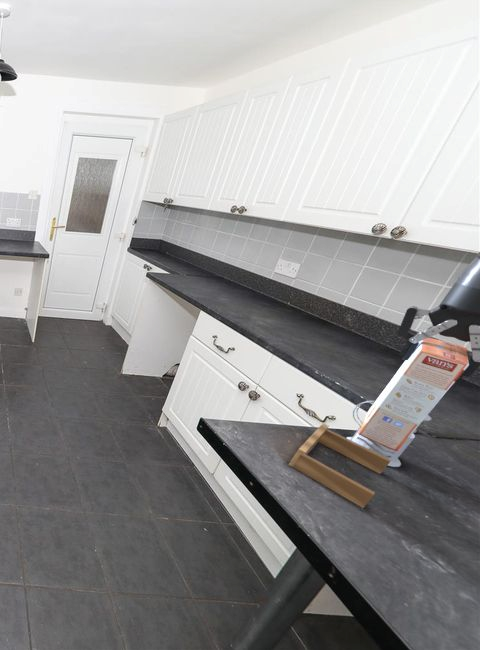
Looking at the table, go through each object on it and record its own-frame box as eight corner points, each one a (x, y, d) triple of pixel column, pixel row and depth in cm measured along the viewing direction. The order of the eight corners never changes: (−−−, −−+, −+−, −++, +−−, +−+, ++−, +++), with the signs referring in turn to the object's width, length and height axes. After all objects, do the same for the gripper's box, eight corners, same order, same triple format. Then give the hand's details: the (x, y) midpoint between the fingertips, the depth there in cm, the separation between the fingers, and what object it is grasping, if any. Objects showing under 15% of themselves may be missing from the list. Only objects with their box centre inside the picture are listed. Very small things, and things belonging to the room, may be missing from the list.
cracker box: (399, 454, 65) (472, 364, 57) (355, 434, 70) (417, 348, 62) (405, 429, 73) (470, 347, 65) (365, 413, 77) (421, 334, 69)
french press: (389, 470, 79) (460, 384, 69) (328, 435, 89) (382, 355, 79) (409, 462, 82) (479, 379, 73) (348, 429, 92) (403, 352, 83)
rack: (313, 437, 88) (323, 422, 86) (381, 472, 78) (393, 456, 76) (288, 464, 78) (299, 448, 76) (362, 508, 68) (376, 491, 66)
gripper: (424, 276, 62) (373, 353, 68) (572, 304, 51) (493, 393, 57) (429, 273, 66) (380, 346, 72) (567, 299, 55) (494, 382, 61)
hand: (430, 367), depth 65 cm, fingers closed on cracker box, 6 cm apart
